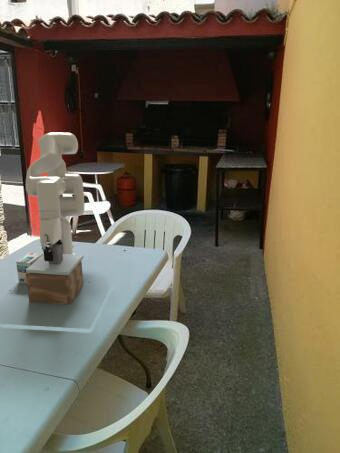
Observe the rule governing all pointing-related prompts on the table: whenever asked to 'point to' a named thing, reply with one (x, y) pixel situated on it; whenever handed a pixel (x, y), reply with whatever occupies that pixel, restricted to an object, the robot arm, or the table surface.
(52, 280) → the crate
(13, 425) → the table surface
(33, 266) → the lid
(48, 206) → the robot arm
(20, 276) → the light bulb box
